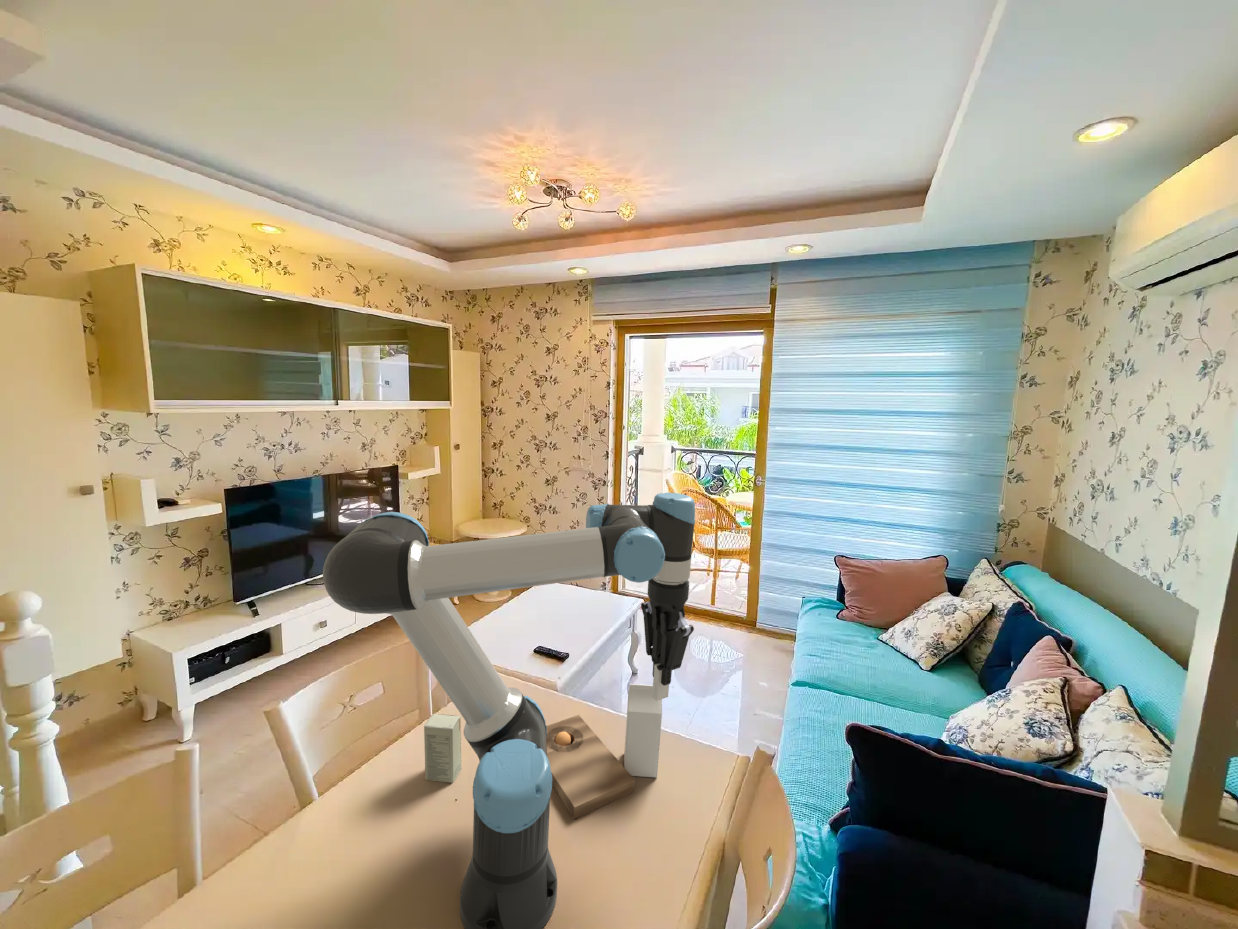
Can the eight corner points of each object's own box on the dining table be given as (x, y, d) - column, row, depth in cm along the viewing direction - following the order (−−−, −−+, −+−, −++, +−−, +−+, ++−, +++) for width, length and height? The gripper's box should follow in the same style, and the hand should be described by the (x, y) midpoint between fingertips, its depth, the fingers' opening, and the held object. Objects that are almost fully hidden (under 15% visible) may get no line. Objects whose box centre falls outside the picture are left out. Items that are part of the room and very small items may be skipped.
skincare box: (462, 768, 106) (462, 715, 105) (453, 784, 102) (454, 729, 100) (433, 764, 107) (433, 712, 105) (423, 780, 103) (423, 725, 101)
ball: (562, 748, 111) (552, 735, 113) (560, 755, 113) (551, 742, 115) (574, 738, 113) (565, 725, 115) (573, 745, 115) (563, 732, 117)
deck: (634, 791, 103) (634, 780, 103) (574, 819, 95) (574, 807, 95) (578, 724, 123) (578, 714, 122) (524, 743, 115) (525, 733, 115)
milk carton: (657, 778, 107) (663, 696, 104) (623, 776, 107) (629, 693, 104) (655, 754, 114) (661, 677, 111) (624, 752, 114) (629, 675, 111)
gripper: (708, 586, 88) (698, 709, 91) (663, 564, 99) (655, 674, 102) (676, 593, 84) (666, 722, 87) (632, 569, 95) (624, 684, 98)
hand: (660, 696), depth 95 cm, fingers closed
